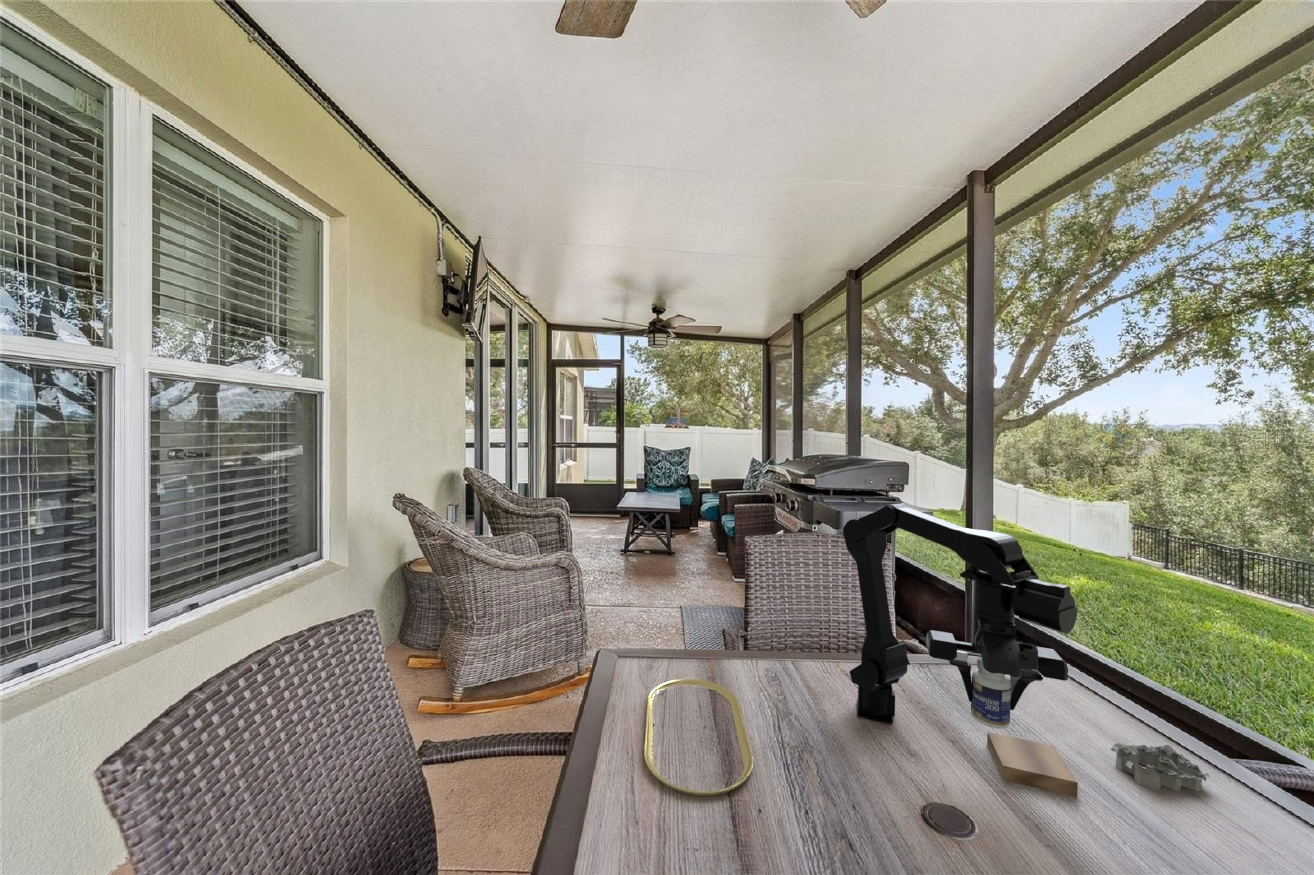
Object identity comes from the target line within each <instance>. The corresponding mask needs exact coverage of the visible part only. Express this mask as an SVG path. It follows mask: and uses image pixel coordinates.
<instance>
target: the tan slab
mask: <svg viewBox="0 0 1314 875" xmlns="http://www.w3.org/2000/svg"><path fill="white" fill-rule="evenodd" d="M986 733H987V734H986V736H987V738H986V740H987V741H986V744H987V745H986V747H987V748H988V750H989V752H990V755H991V757H992V759H993V761H994V764H995V766H996V768H997V770H998V773H999V776H1000V777H1001V780H1002V781H1006V782H1010V783H1013V784H1014V783H1015V784H1018V785H1022V786H1025V787H1026V786H1027V787H1031V788H1036V789H1040V790H1044V791H1047V792H1048V791H1049V792H1052V793H1057V794H1062V795H1066V796H1070V797H1074V798H1078V794H1079V793H1078V788H1079V787H1078V786H1079V785H1078V784H1079V782H1078V780H1077V779H1076V777H1075V776H1074V774H1073V773H1072V771H1071V769H1070V768H1069V767H1068V765H1067V763H1066V762H1065V761H1064V759H1063V757H1062V756H1061V755H1060V753H1059V750H1057V748H1056V747H1055V745H1052V744H1049V743H1044V742H1038V741H1034V740H1028V739H1024V738H1020V737H1014V736H1010V735H1006V734H1005V735H1004V734H1001V733H996V732H995V733H994V732H992V731H991V732H990V731H987V732H986Z"/></svg>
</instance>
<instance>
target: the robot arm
mask: <svg viewBox="0 0 1314 875" xmlns="http://www.w3.org/2000/svg"><path fill="white" fill-rule="evenodd" d="M898 529H901V530H903V531H905V532H907V533H910V534H913V535H914V536H915V535H916V536H917V537H920V538H923V539H925V540H928V541H929V542H933V543H935V544H937V545H940V546H943V547H945V548H947V549H949V550H950V551H952V552H954V553H955V554H956V555H957V556H958V557H959V558H960V559H961V560H962V561H964V562H966V563H968V564H969V565H970V566H969V567H968V568H967V569H965V570H964V571H962V572H960V573H959V576H960V577H961V578H964V579H967V580H970V581H973V595H972V597H973V598H972V623H971V642H966V641H961V640H960V641H959V640H956V639H955V637H954V634H953V633H951V632H946V631H941V630H940V631H939V630H931V629H929V631H927V633H926V637H925V639H926V640H925V645H926V648H927V651H928V655H929V656H930V657H932V658H933V659H938V660H943V661H944V660H945V661H948V663H949V664H950V665H952V666H954V667H957V669H958V671H959V673H960V676H961V679H962V683H963V686H964V688H965V692H966V695H967V698H968V701H969V702H970V703H971V702H972V698H973V692H972V665H971V663H970V661H969V656H973V657H978V658H979V657H982V661H983V667H984V669H985V670H986V671H988V672H990V673H994V674H996V673H1000V674H1006V675H1007V676H1009V680H1010V682H1011V704H1010V711H1014V710H1015V708H1016V706H1017V705H1018V702H1019V701H1020V699H1021V697H1022V696H1023V693H1024V691H1025V690H1026V688H1027V687H1028V686H1029V685H1030V684H1031V683H1033V682H1036V681H1038V682H1043V680H1044V678H1047V679H1054V680H1059V681H1068V680H1069V668H1068V664H1067V662H1066V661H1065V660H1064V659H1063V658H1062V657H1061V656H1060V654H1059V653H1058V652H1057V651H1056V650H1055V649H1053V648H1047V647H1041V646H1037V645H1036V644H1031V643H1024V642H1023V641H1019V640H1018V637H1017V635H1016V633H1017V632H1016V624H1015V618H1016V617H1018V618H1019V619H1020V620H1021V621H1023V622H1026V623H1029V624H1033V625H1036V626H1039V627H1042V628H1046V629H1049V630H1053V631H1056V632H1059V633H1063V634H1066V635H1067V634H1069V633H1071V631H1072V630H1073V629H1074V628H1075V625H1076V622H1077V619H1078V606H1077V605H1076V601H1075V598H1074V596H1073V595H1072V594H1071V588H1072V587H1070V586H1069V585H1066V584H1061V583H1051V582H1047V581H1044V580H1039V575H1038V574H1037V573H1036V571H1035V570H1034V568H1033V567H1032V565H1031V564H1030V562H1029V561H1028V560H1027V559H1026V557H1025V556H1024V553H1023V549H1022V545H1021V544H1020V543H1019V541H1018V539H1016V538H1015V537H1013V536H1012V535H1010V534H1007V533H1002V532H996V531H991V530H984V529H975V528H967V527H963V526H961V525H958V524H955V523H952V522H949V521H946V520H944V519H941V518H939V517H935V516H933V515H930V514H928V513H924V512H921V511H919V510H916V509H913V508H911V507H908V506H907V505H905V504H903V503H894V504H887V505H885V506H882V507H881V508H880V509H877V510H876V511H873V512H871V513H869V514H866V515H864V516H862V517H859V518H853V519H850V520H848V521H846V523H845V525H843V528H842V535H843V539H844V543H845V546H846V549H847V551H848V553H849V554H850V555H851V557H852V558H853V560H854V561H855V564H856V571H857V576H858V584H859V589H860V597H861V605H862V610H863V612H862V613H863V618H864V625H865V638H864V641H863V643H862V647H861V651H860V656H861V658H860V659H861V660H860V661H861V662H860V664H859V665H857V666H855V667H854V668H852V669H851V670H849V675H850V676H849V677H850V680H851V682H852V683H853V684H855V685H857V699H856V717H858V718H860V719H861V718H862V719H867V720H872V721H877V722H881V723H886V724H889V725H891V724H892V725H893V723H894V722H893V721H894V719H893V718H894V717H896V716H895V715H896V694H895V693H896V692H895V691H894V690H893V685H894V684H898V683H899V682H900V680H901V678H903V677H904V676H905V675H906V674H907V673H908V666H909V665H911V663H910V660H909V658H908V654H907V653H908V647H907V645H906V643H904V642H902V643H900V641H899V640H897V638H896V636H895V635H894V632H893V627H892V620H891V619H892V618H891V613H890V607H889V600H888V593H887V588H886V587H887V586H886V580H885V573H884V567H883V558H884V556H885V552H886V551H887V550H886V549H887V546H888V536H889V535H890V534H892V533H894V532H895V531H897V530H898ZM1010 569H1012V570H1013V571H1009V570H1010ZM1015 616H1016V617H1015ZM1006 675H1005V676H1006Z"/></svg>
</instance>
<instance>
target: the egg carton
mask: <svg viewBox="0 0 1314 875" xmlns="http://www.w3.org/2000/svg"><path fill="white" fill-rule="evenodd" d="M1110 751H1111V752H1114V753H1116V761H1115V767H1116V768H1117V769H1118V770H1120V771H1121V772H1122V771H1123V772H1126V773H1128V774H1131V775H1133V777H1134V781H1135V782H1136V783H1137V784H1138V785H1140V786H1145V787H1148V788H1151V789H1152V790H1154V791H1160V790H1161V787H1162V786H1164V787H1168V788H1169V789H1172V790H1174V791H1181V788H1182V787H1186V788H1188V789H1191V790H1193V791H1196V792H1202V791H1203V790H1202V782H1203V780H1204V782H1206V781H1207V778H1208V777H1209V778H1210V777H1211V776H1210V774H1209V773H1207V772H1206V773H1204V772H1203V771H1201V769H1200V768H1199V766H1198V765H1197V764H1194V763H1192V761H1191V760H1189V759H1188V758H1186V757H1185V756H1184V755H1183V754H1180V753H1178V752H1177V750H1175V749H1174V748H1173V747H1172V746H1171V745H1169V744H1167V745H1166V744H1165V745H1161V746H1152V745H1150V746H1147V745H1146V744H1142V745H1134V744H1131V745H1126V744H1123V743H1114V744H1113V745H1112V747H1111V748H1110ZM1139 764H1142V765H1144V766H1145V767H1144V766H1142V765H1139Z"/></svg>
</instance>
